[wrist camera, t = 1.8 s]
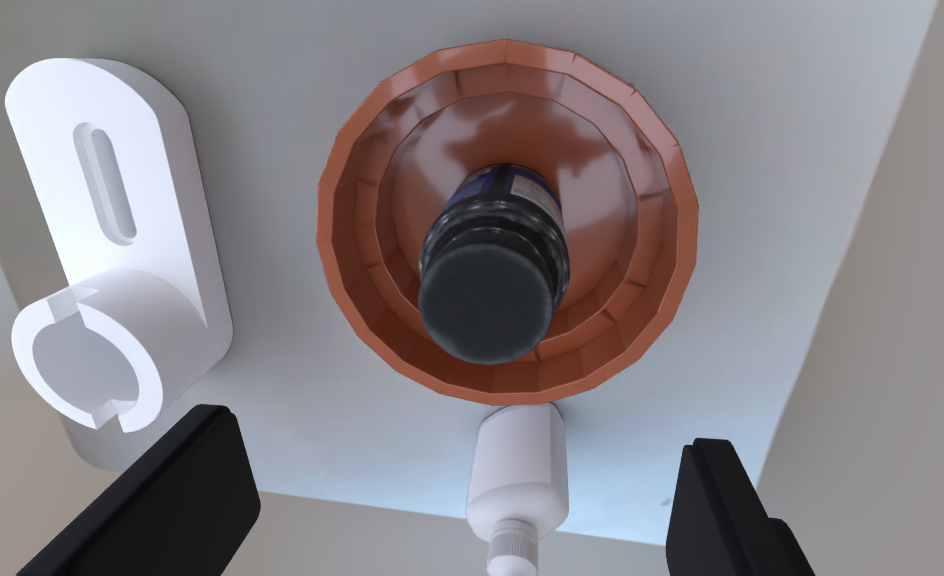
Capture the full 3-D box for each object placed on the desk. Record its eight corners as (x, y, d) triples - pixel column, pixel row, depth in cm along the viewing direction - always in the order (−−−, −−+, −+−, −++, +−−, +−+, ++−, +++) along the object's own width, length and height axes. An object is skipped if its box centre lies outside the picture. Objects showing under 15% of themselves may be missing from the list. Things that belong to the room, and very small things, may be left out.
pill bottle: (456, 270, 28) (407, 382, 18) (444, 164, 26) (380, 226, 16) (564, 267, 27) (575, 384, 17) (562, 156, 25) (575, 217, 15)
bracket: (243, 374, 34) (178, 440, 28) (130, 362, 35) (44, 424, 29) (176, 60, 26) (63, 59, 20) (30, 57, 27) (-120, 54, 21)
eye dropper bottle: (481, 391, 32) (449, 559, 21) (567, 402, 31) (580, 579, 20) (478, 443, 34) (447, 620, 23) (560, 453, 33) (567, 641, 22)
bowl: (321, 262, 30) (270, 306, 24) (439, -23, 22) (406, -51, 17) (555, 387, 31) (557, 455, 26) (736, 156, 24) (791, 182, 18)
